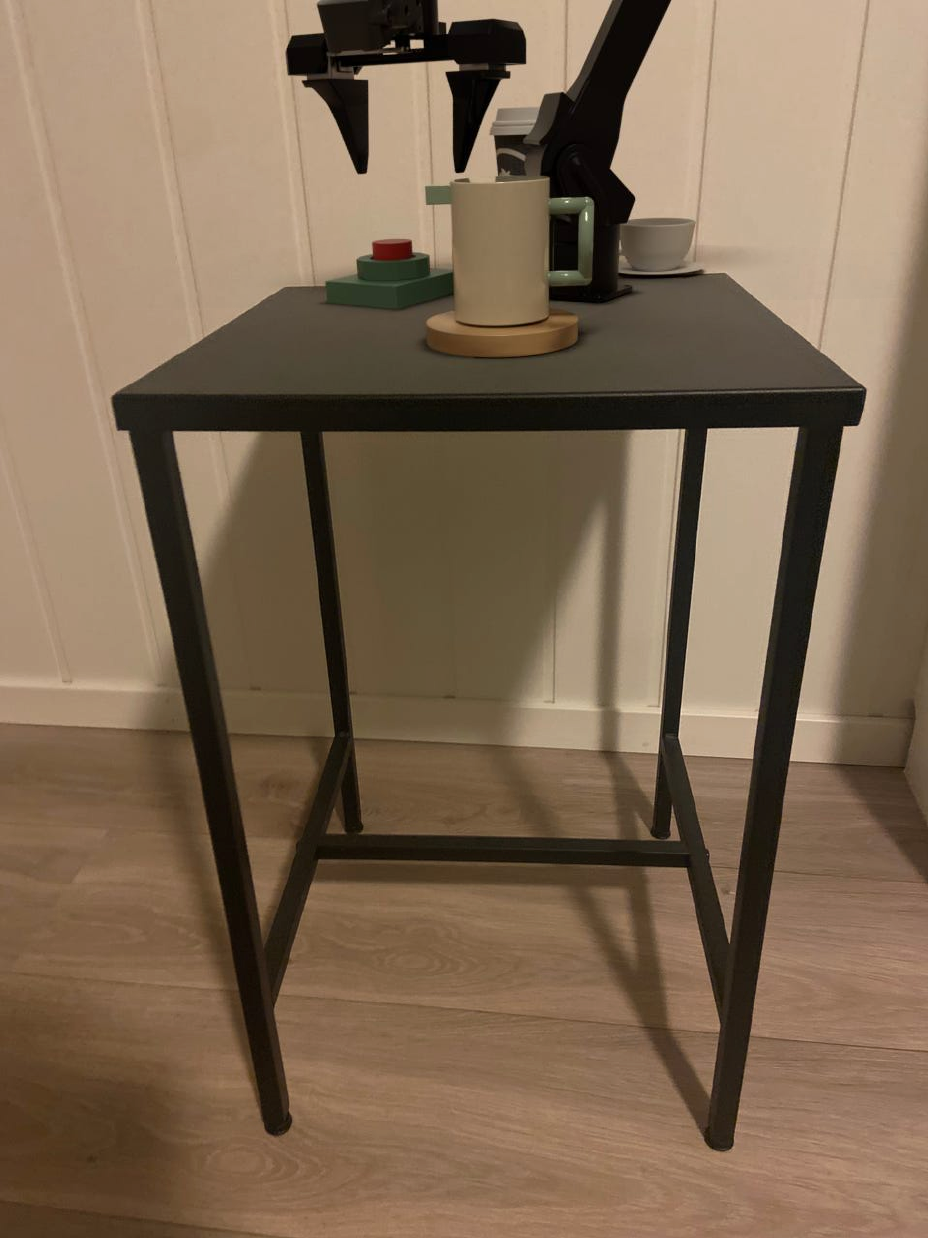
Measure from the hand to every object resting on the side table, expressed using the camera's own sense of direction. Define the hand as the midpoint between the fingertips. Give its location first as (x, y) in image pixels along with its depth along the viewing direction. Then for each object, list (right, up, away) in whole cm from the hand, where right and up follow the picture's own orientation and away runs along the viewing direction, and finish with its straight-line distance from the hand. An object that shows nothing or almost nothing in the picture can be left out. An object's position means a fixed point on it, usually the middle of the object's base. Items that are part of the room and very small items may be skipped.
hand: (409, 173), depth 77 cm
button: (-2, -4, +8) cm, 9 cm away
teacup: (+24, -2, +18) cm, 30 cm away
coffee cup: (+12, -4, +15) cm, 20 cm away
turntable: (+7, -16, -9) cm, 20 cm away
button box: (-2, -7, +10) cm, 12 cm away
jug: (+7, -15, -9) cm, 19 cm away
